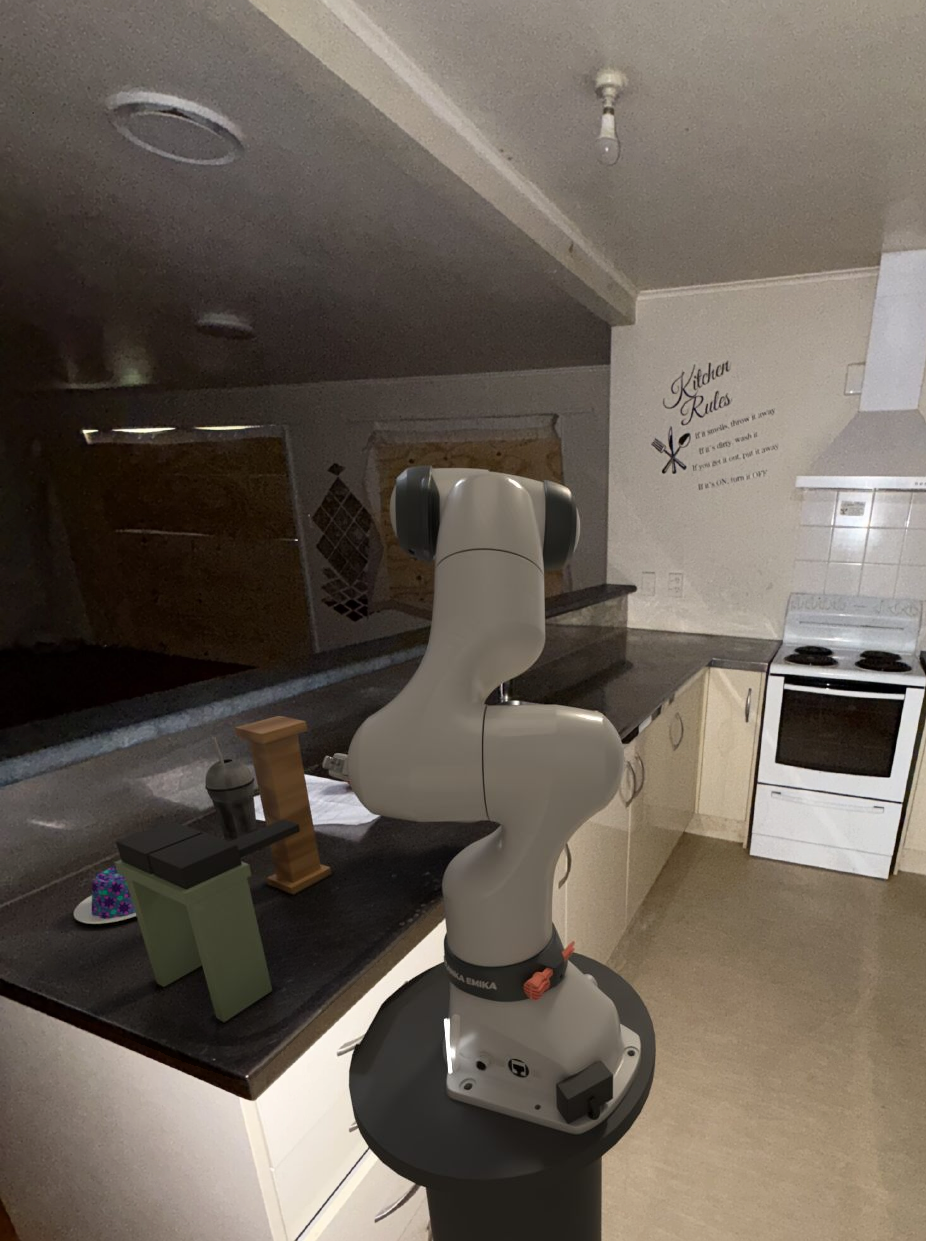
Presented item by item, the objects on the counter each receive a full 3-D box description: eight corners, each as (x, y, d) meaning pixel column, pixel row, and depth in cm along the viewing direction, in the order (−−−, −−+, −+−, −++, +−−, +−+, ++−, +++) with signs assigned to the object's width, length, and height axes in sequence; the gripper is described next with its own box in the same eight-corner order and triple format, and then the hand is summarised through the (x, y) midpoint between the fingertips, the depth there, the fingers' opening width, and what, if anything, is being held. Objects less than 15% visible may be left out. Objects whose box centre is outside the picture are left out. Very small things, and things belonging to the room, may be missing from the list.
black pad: (308, 834, 77) (305, 815, 76) (186, 889, 65) (180, 868, 64) (276, 823, 80) (273, 805, 79) (154, 875, 68) (148, 854, 67)
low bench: (276, 988, 76) (249, 864, 70) (219, 1025, 70) (184, 894, 64) (209, 953, 82) (179, 836, 76) (152, 985, 76) (114, 862, 70)
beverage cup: (276, 837, 113) (254, 730, 106) (243, 856, 106) (218, 744, 99) (243, 832, 115) (220, 726, 108) (209, 850, 108) (182, 739, 101)
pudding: (52, 926, 87) (40, 894, 86) (119, 881, 99) (110, 851, 97) (135, 929, 87) (125, 897, 85) (193, 884, 98) (185, 854, 96)
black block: (207, 851, 73) (202, 831, 72) (151, 874, 68) (145, 854, 67) (177, 839, 75) (172, 820, 75) (121, 861, 70) (115, 841, 70)
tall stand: (331, 873, 101) (305, 721, 92) (293, 894, 95) (261, 733, 86) (306, 864, 104) (279, 715, 95) (267, 884, 98) (234, 727, 89)
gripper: (377, 755, 102) (305, 734, 89) (477, 778, 93) (413, 757, 80) (366, 793, 101) (292, 777, 89) (465, 819, 92) (399, 806, 80)
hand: (350, 768), depth 84 cm, fingers open, 8 cm apart
